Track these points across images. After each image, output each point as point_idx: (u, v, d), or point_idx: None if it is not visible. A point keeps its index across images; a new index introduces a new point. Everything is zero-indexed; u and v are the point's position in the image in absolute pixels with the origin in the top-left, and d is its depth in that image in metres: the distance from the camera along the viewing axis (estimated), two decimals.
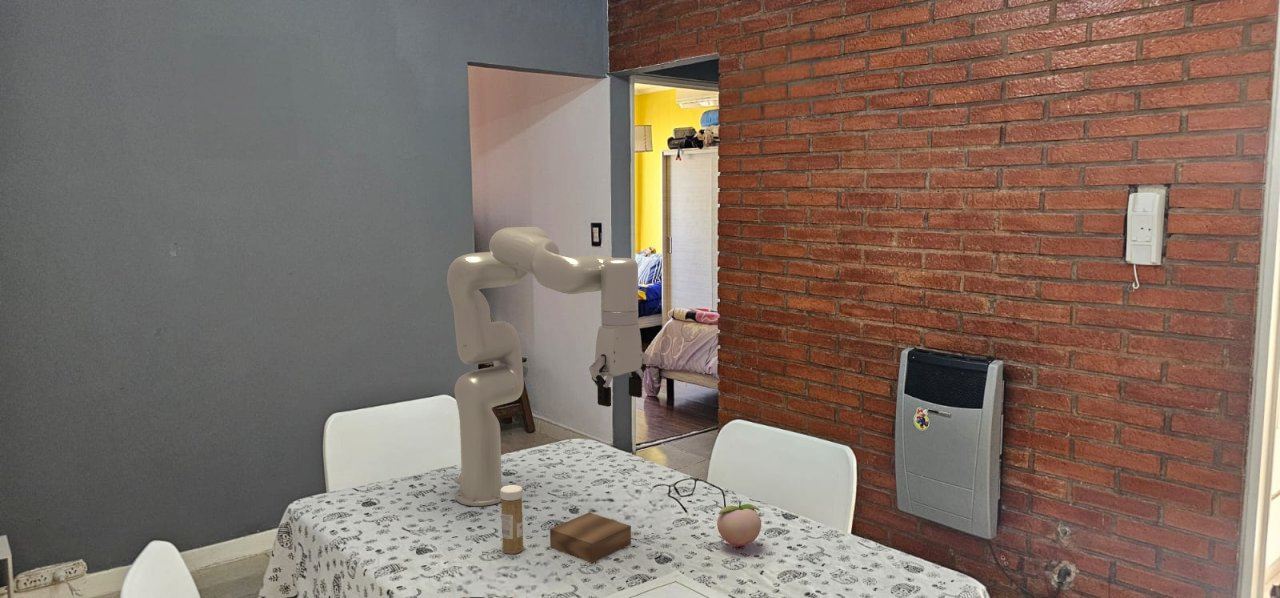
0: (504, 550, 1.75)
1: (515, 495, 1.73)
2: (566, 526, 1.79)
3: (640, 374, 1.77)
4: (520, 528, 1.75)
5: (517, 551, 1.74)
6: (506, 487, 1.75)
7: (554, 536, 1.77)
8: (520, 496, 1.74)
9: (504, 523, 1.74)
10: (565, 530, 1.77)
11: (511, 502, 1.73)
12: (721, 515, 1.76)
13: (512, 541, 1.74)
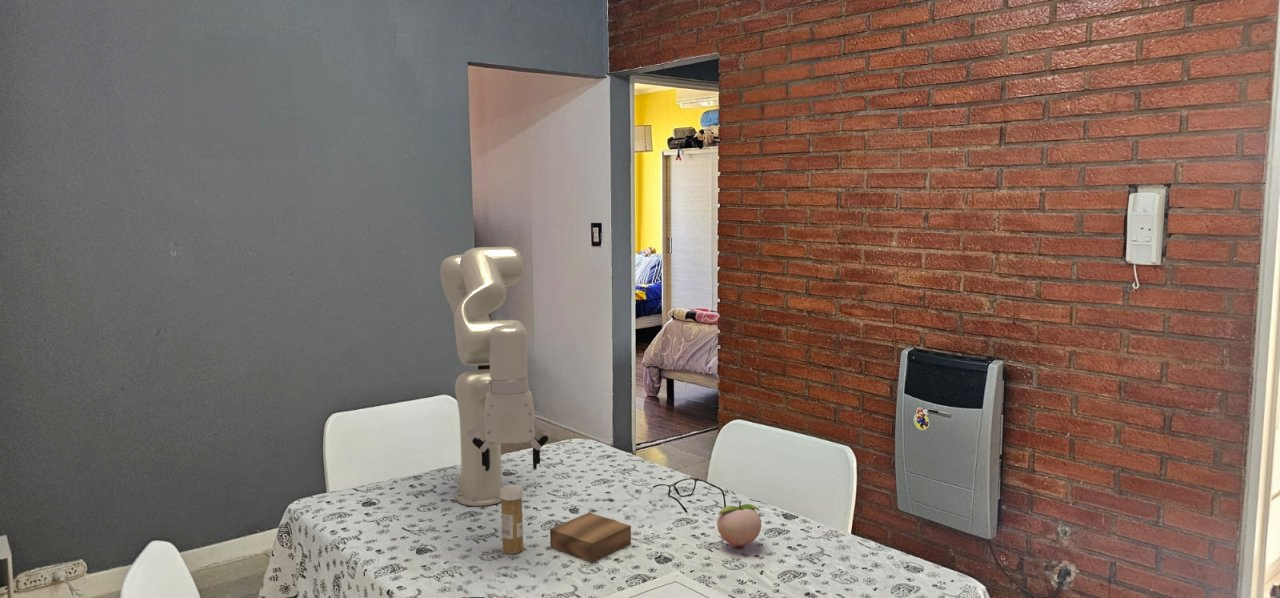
0: (504, 550, 1.75)
1: (515, 495, 1.73)
2: (566, 526, 1.79)
3: None
4: (520, 528, 1.75)
5: (517, 551, 1.74)
6: (506, 487, 1.75)
7: (554, 536, 1.77)
8: (520, 496, 1.74)
9: (504, 523, 1.74)
10: (565, 530, 1.77)
11: (511, 502, 1.73)
12: (721, 515, 1.76)
13: (512, 541, 1.74)
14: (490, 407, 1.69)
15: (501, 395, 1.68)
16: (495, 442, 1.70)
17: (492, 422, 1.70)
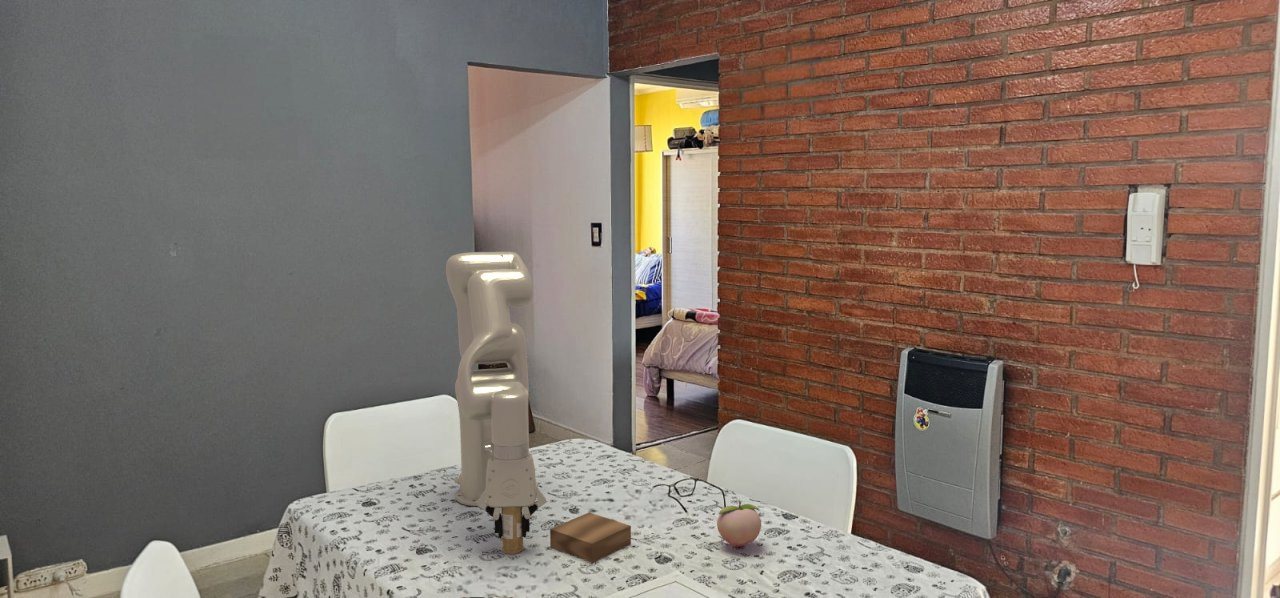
0: (504, 550, 1.75)
1: None
2: (566, 526, 1.79)
3: None
4: (520, 528, 1.74)
5: (517, 551, 1.74)
6: None
7: (554, 536, 1.77)
8: None
9: (504, 523, 1.74)
10: (565, 530, 1.77)
11: None
12: (721, 515, 1.76)
13: (512, 541, 1.74)
14: (491, 472, 1.71)
15: (502, 461, 1.70)
16: (496, 506, 1.72)
17: (493, 487, 1.71)
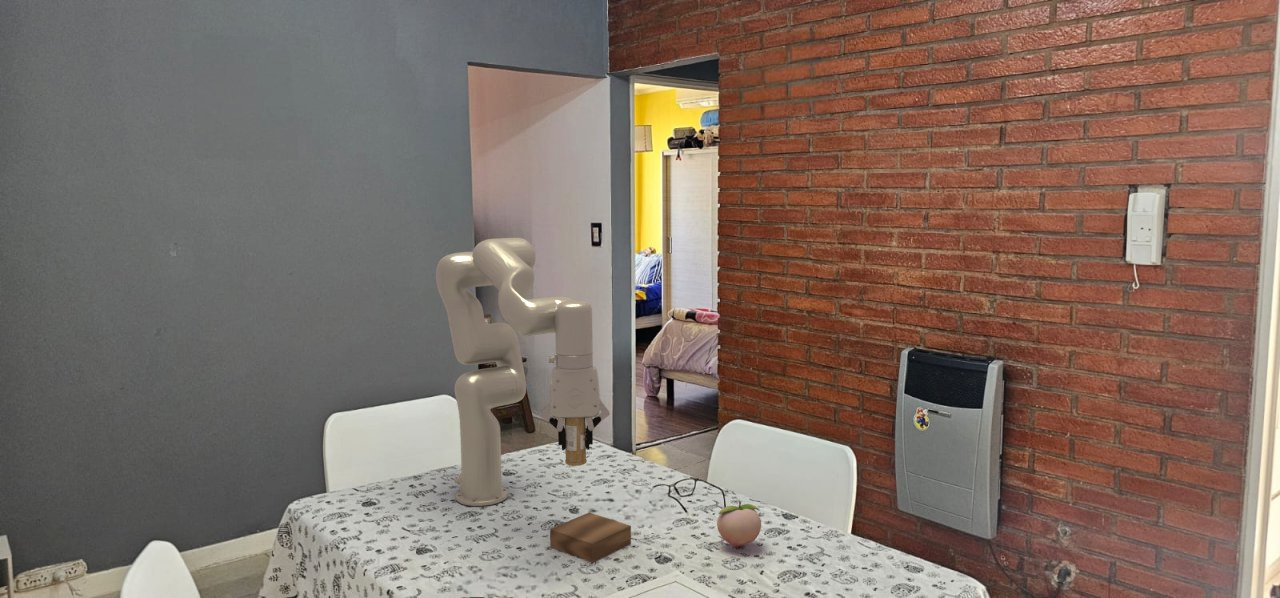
0: (567, 462, 1.74)
1: None
2: (566, 526, 1.79)
3: None
4: (583, 440, 1.74)
5: (580, 463, 1.74)
6: None
7: (554, 536, 1.77)
8: None
9: (567, 434, 1.73)
10: (565, 530, 1.77)
11: None
12: (721, 515, 1.76)
13: (576, 453, 1.73)
14: (556, 382, 1.71)
15: (567, 370, 1.70)
16: (560, 416, 1.72)
17: (557, 397, 1.71)
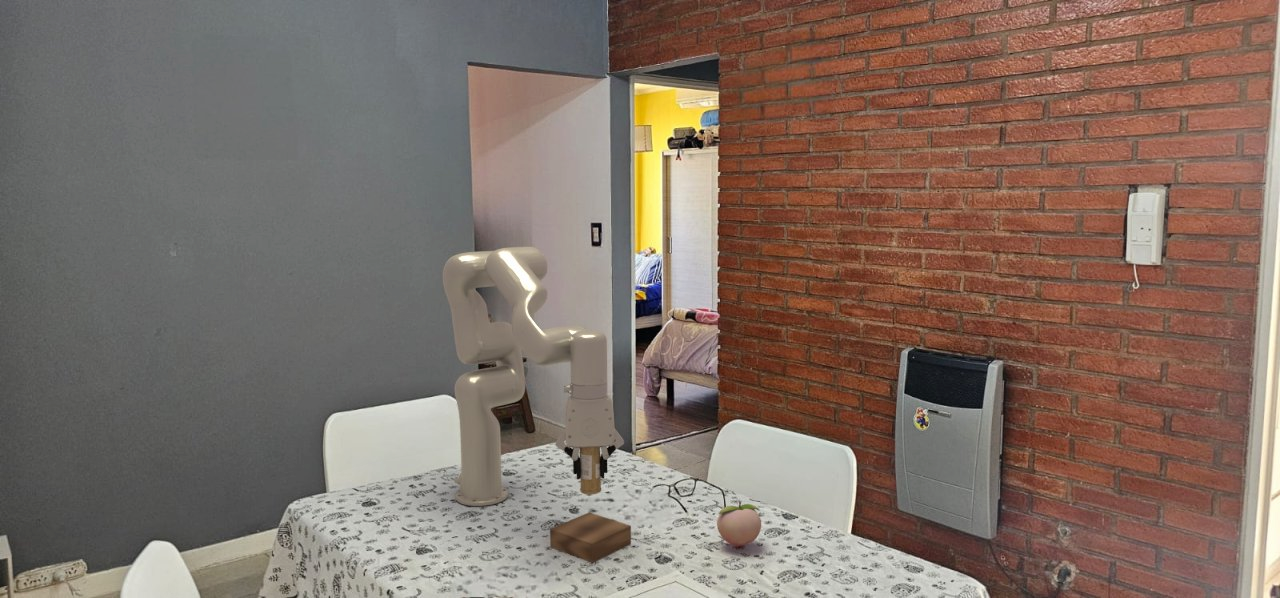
0: (582, 491, 1.75)
1: None
2: (566, 526, 1.79)
3: None
4: (598, 469, 1.75)
5: (596, 492, 1.75)
6: None
7: (554, 536, 1.77)
8: None
9: (582, 463, 1.74)
10: (565, 530, 1.77)
11: None
12: (721, 515, 1.76)
13: (591, 482, 1.74)
14: (571, 412, 1.72)
15: (583, 400, 1.71)
16: (576, 446, 1.73)
17: (573, 427, 1.72)
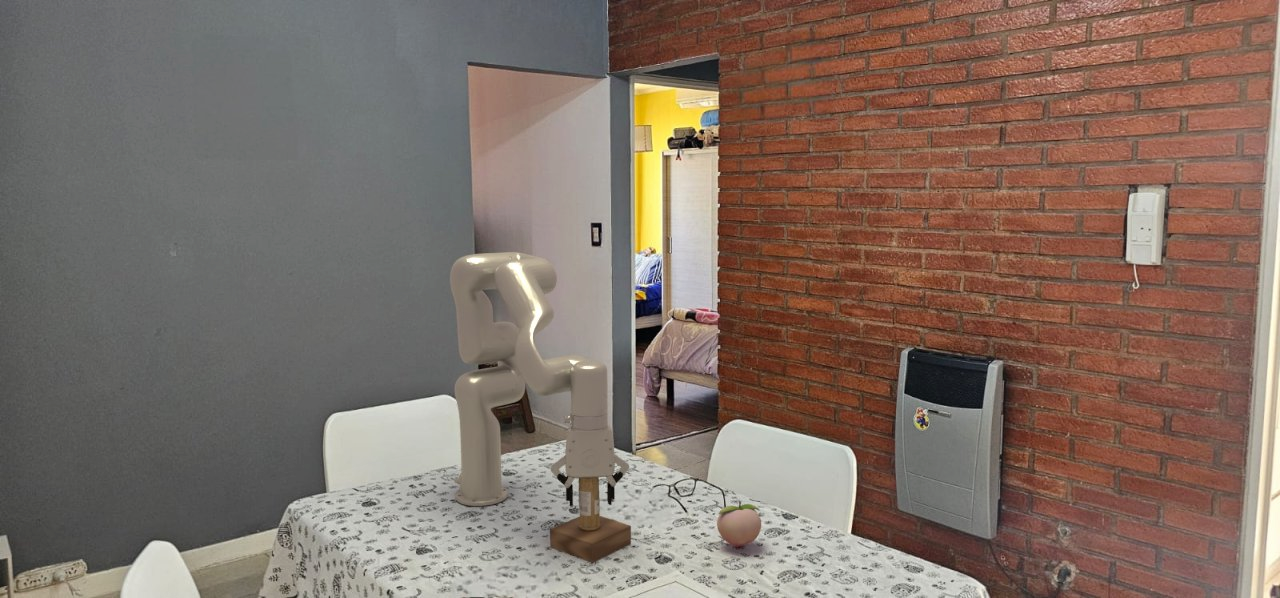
0: (582, 527, 1.76)
1: None
2: (566, 526, 1.79)
3: None
4: (597, 505, 1.76)
5: (595, 528, 1.76)
6: None
7: (554, 536, 1.77)
8: None
9: (581, 500, 1.76)
10: (565, 530, 1.77)
11: (589, 479, 1.74)
12: (721, 515, 1.76)
13: (590, 518, 1.76)
14: (572, 442, 1.73)
15: (583, 431, 1.72)
16: (576, 476, 1.74)
17: (573, 457, 1.73)
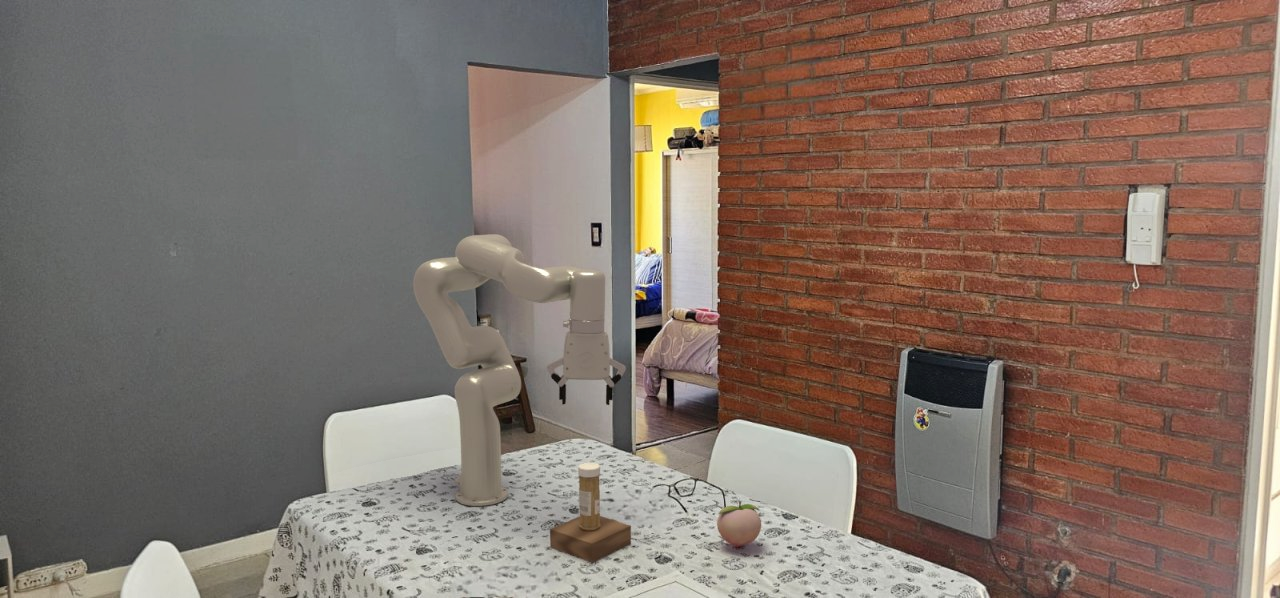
0: (582, 527, 1.76)
1: (594, 472, 1.75)
2: (566, 526, 1.79)
3: None
4: (598, 505, 1.76)
5: (595, 528, 1.76)
6: (584, 464, 1.77)
7: (554, 536, 1.77)
8: (598, 473, 1.75)
9: (582, 500, 1.76)
10: (565, 530, 1.77)
11: (589, 479, 1.75)
12: (721, 515, 1.76)
13: (590, 518, 1.76)
14: (569, 345, 1.82)
15: (580, 334, 1.81)
16: (572, 378, 1.83)
17: (570, 359, 1.82)
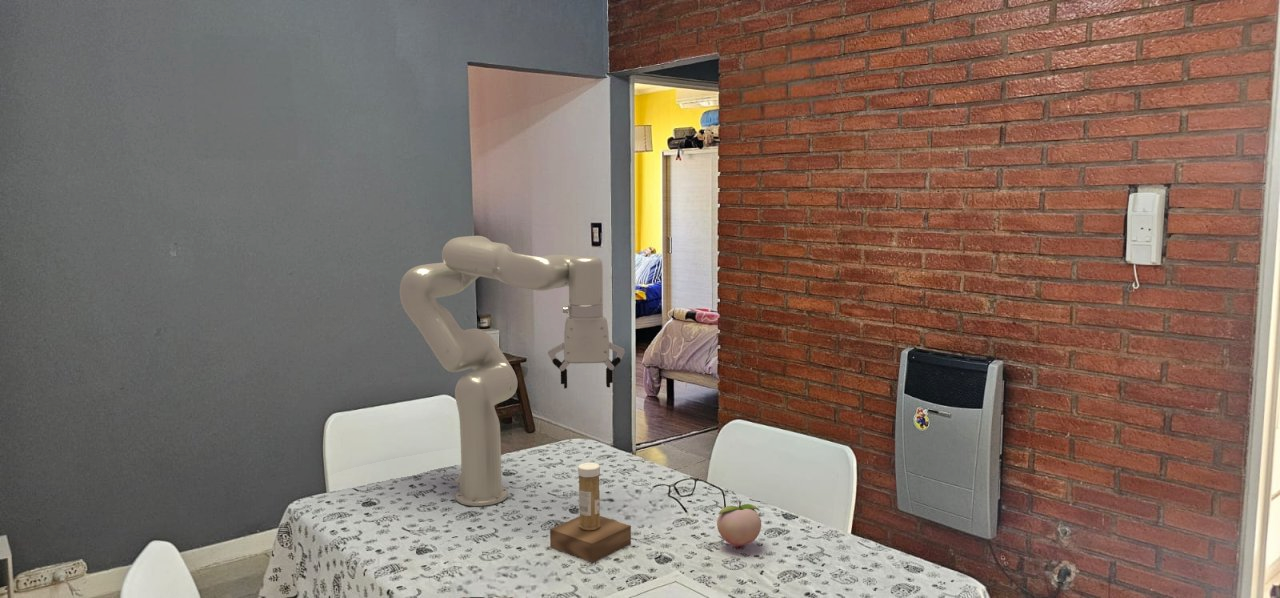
0: (582, 527, 1.76)
1: (593, 472, 1.75)
2: (566, 526, 1.79)
3: None
4: (598, 505, 1.76)
5: (595, 528, 1.76)
6: (583, 464, 1.77)
7: (554, 536, 1.77)
8: (598, 473, 1.76)
9: (582, 500, 1.76)
10: (565, 530, 1.77)
11: (589, 479, 1.75)
12: (721, 515, 1.76)
13: (590, 518, 1.76)
14: (570, 330, 1.87)
15: (580, 319, 1.86)
16: (574, 362, 1.88)
17: (571, 344, 1.87)
